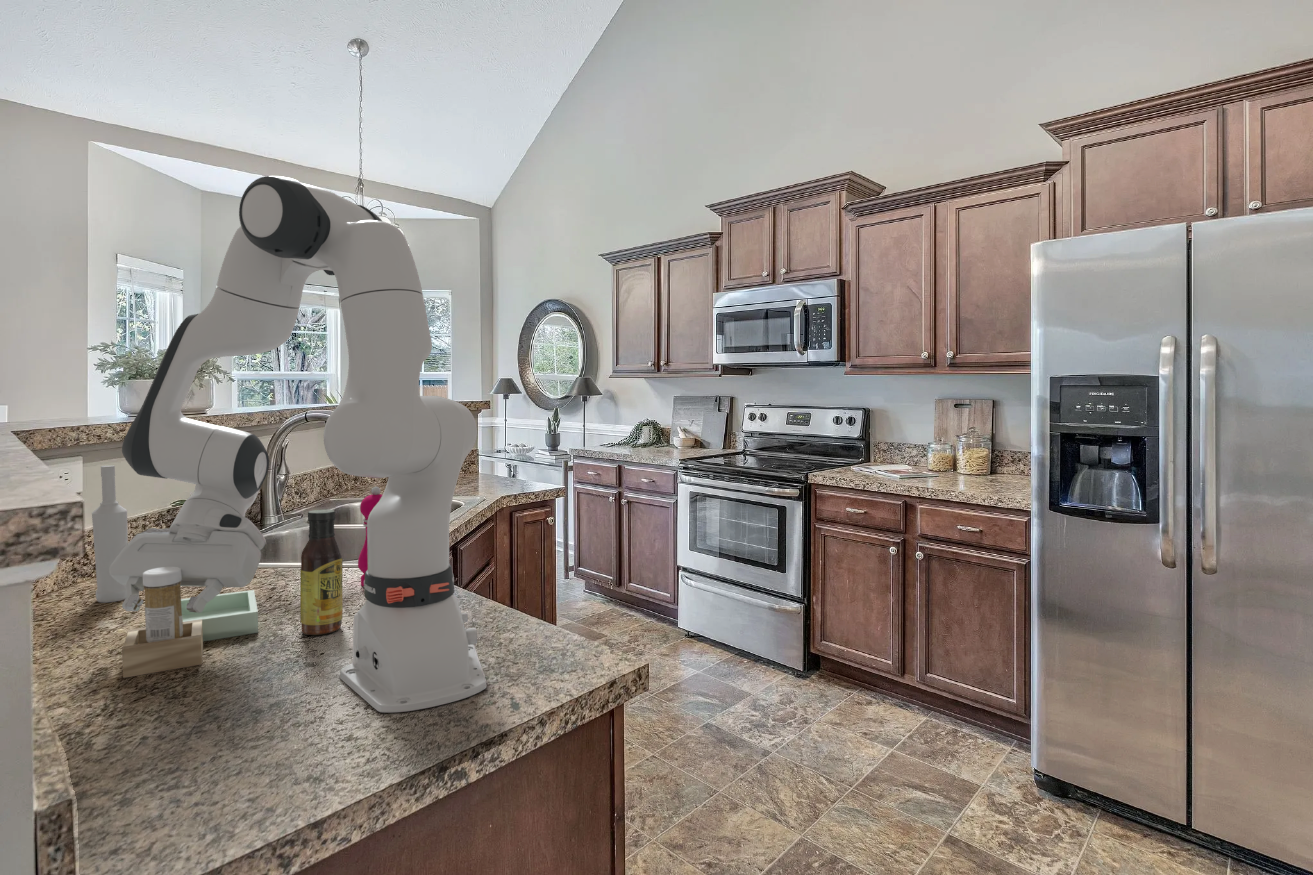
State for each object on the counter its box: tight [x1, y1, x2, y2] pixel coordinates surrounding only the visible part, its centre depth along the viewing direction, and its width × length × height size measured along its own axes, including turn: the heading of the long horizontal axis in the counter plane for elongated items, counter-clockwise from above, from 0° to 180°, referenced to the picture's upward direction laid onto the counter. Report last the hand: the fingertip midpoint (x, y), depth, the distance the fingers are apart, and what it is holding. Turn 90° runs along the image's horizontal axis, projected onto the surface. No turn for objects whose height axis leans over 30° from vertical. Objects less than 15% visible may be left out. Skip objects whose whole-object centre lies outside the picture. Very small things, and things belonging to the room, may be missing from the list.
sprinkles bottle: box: [143, 567, 183, 643], centre depth 99 cm, size 5×5×14 cm
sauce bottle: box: [299, 509, 344, 636], centre depth 112 cm, size 6×6×20 cm
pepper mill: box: [357, 486, 383, 588], centre depth 139 cm, size 7×7×20 cm
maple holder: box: [121, 619, 204, 679], centre depth 100 cm, size 9×9×4 cm
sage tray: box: [181, 589, 259, 642], centre depth 113 cm, size 14×14×4 cm
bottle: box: [91, 465, 129, 604], centre depth 127 cm, size 5×5×25 cm
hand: (161, 610), depth 99 cm, fingers open, 8 cm apart
